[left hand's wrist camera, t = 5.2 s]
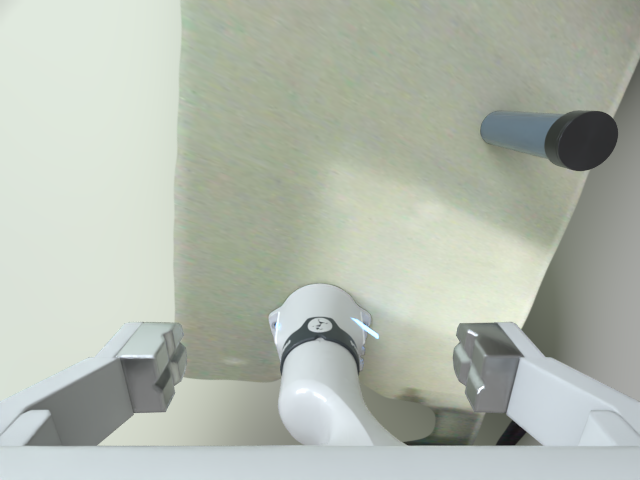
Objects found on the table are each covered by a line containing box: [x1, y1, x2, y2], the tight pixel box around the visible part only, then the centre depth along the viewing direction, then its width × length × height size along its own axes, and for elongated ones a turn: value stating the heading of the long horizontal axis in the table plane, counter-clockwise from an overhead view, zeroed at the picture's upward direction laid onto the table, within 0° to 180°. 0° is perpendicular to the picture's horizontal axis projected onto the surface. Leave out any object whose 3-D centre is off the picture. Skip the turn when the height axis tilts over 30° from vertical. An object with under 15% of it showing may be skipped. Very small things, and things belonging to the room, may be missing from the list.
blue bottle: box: [481, 111, 565, 159], centre depth 45 cm, size 5×5×19 cm
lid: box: [544, 111, 618, 171], centre depth 37 cm, size 6×6×2 cm
